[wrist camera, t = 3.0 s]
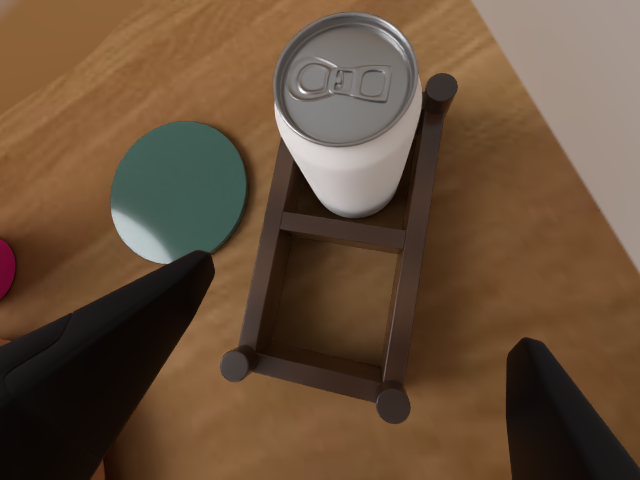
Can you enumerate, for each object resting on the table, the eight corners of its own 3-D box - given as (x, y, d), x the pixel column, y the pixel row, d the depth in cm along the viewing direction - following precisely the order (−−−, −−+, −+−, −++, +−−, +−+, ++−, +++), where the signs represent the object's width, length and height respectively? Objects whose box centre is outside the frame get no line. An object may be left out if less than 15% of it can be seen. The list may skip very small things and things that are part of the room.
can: (321, 133, 25) (278, -2, 13) (405, 142, 23) (442, 3, 12) (306, 213, 24) (247, 147, 12) (391, 226, 23) (417, 167, 11)
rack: (398, 394, 21) (407, 428, 16) (248, 357, 23) (216, 378, 18) (440, 117, 23) (459, 73, 18) (299, 104, 25) (283, 62, 20)
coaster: (120, 276, 26) (114, 276, 25) (111, 141, 27) (106, 138, 27) (258, 250, 24) (255, 249, 24) (239, 110, 26) (236, 106, 25)
